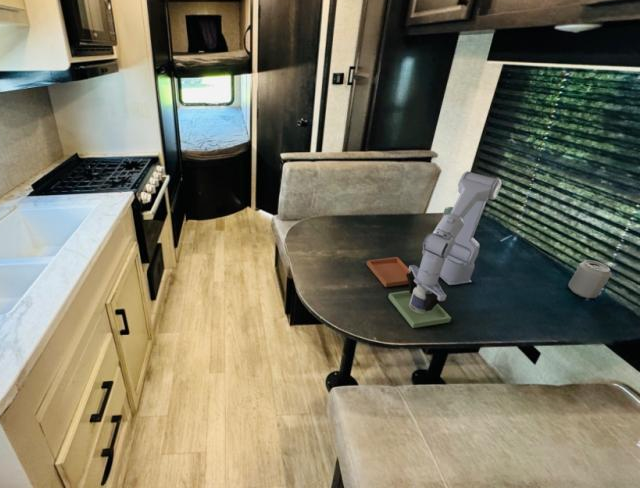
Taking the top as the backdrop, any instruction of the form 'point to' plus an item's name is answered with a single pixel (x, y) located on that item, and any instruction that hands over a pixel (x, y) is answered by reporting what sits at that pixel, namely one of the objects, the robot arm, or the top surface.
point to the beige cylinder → (589, 279)
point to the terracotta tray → (389, 271)
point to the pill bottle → (419, 299)
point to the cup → (447, 211)
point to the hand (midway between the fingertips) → (420, 301)
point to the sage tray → (415, 319)
